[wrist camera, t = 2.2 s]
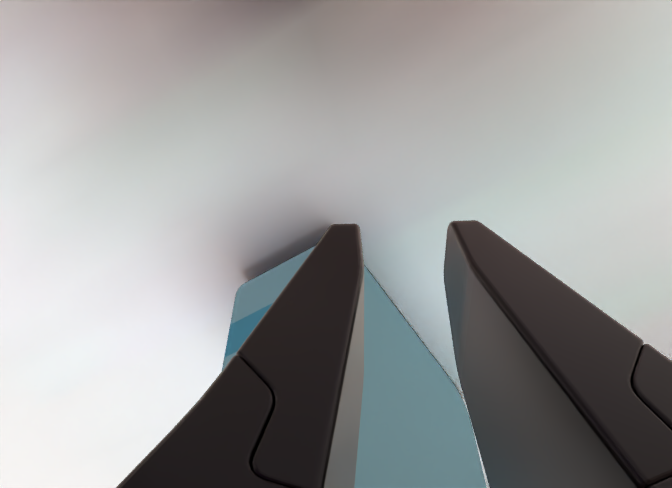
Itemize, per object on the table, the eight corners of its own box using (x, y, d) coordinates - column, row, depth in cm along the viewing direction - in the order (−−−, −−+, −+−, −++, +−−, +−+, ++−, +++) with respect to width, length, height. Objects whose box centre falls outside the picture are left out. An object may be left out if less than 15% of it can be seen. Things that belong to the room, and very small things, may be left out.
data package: (237, 269, 26) (182, 558, 16) (331, 218, 25) (336, 498, 15) (384, 433, 32) (411, 718, 22) (467, 399, 30) (535, 686, 20)
